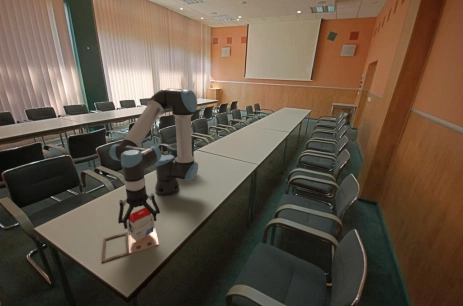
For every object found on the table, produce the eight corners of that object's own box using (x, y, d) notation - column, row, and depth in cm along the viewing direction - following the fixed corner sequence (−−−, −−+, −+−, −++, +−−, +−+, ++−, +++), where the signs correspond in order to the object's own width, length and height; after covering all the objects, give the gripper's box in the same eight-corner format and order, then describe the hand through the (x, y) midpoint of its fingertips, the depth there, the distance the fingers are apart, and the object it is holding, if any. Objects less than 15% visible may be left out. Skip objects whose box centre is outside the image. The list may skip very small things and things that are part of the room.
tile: (154, 225, 103) (154, 224, 103) (159, 244, 92) (158, 243, 91) (128, 232, 98) (127, 231, 98) (129, 254, 86) (129, 252, 86)
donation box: (194, 171, 164) (193, 137, 155) (177, 177, 153) (175, 141, 143) (182, 165, 174) (181, 133, 165) (165, 170, 163) (163, 136, 153)
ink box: (148, 227, 99) (144, 201, 93) (153, 231, 96) (150, 205, 90) (130, 236, 92) (126, 209, 87) (136, 242, 89) (131, 214, 84)
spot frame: (128, 232, 98) (127, 231, 98) (129, 254, 86) (129, 253, 86) (103, 239, 93) (103, 238, 93) (101, 262, 82) (101, 261, 82)
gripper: (161, 178, 93) (165, 218, 101) (105, 188, 83) (114, 231, 91) (164, 185, 87) (168, 227, 95) (104, 197, 77) (114, 243, 85)
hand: (141, 229), depth 93 cm, fingers closed on ink box, 9 cm apart
